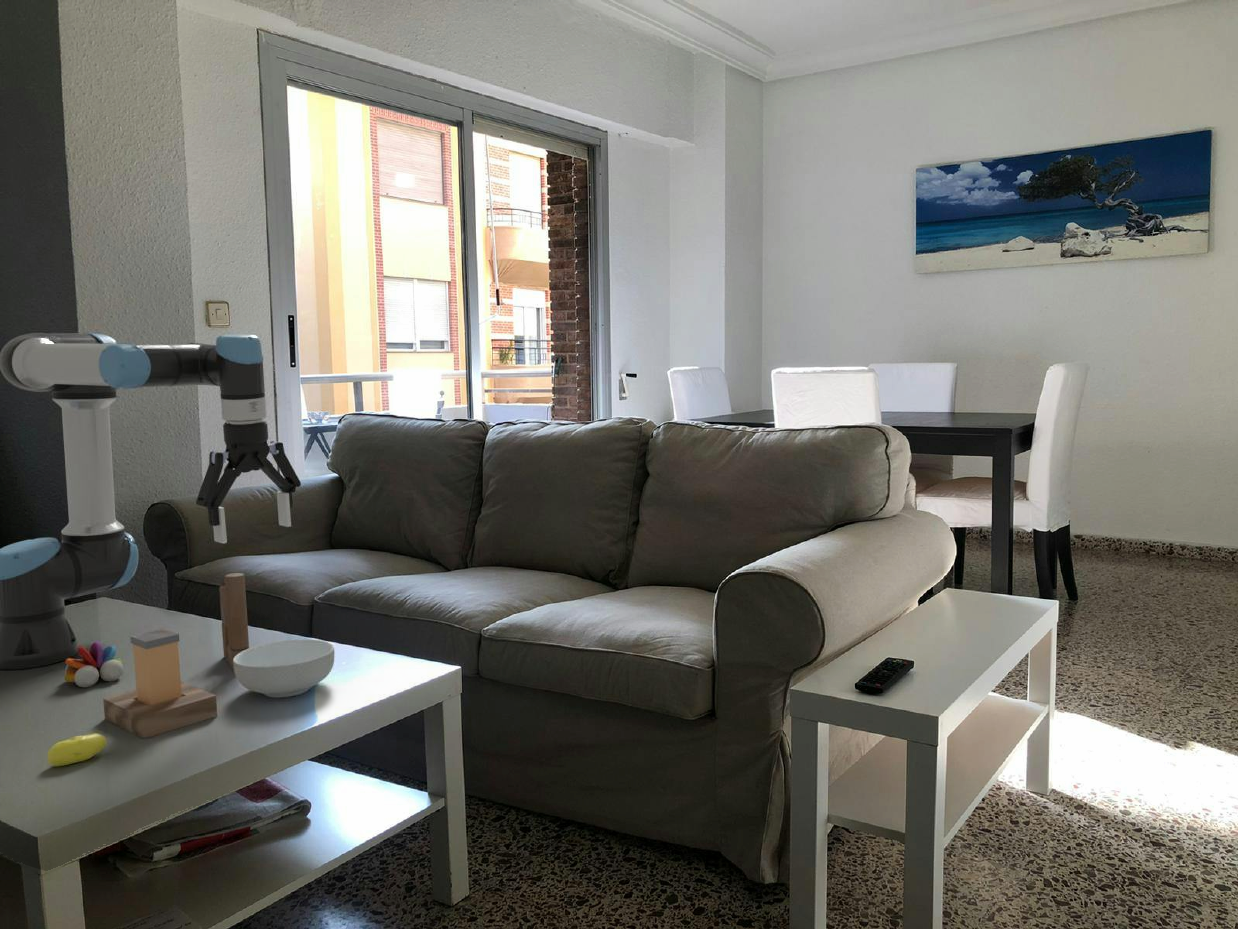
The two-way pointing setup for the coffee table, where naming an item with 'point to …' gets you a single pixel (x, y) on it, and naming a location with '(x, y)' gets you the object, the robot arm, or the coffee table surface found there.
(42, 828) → the coffee table surface
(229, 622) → the wooden v-shaped piece
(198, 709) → the header block
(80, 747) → the yellow oblong piece
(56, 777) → the coffee table surface
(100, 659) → the rainbow petal toy
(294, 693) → the cereal bowl
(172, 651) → the plug
